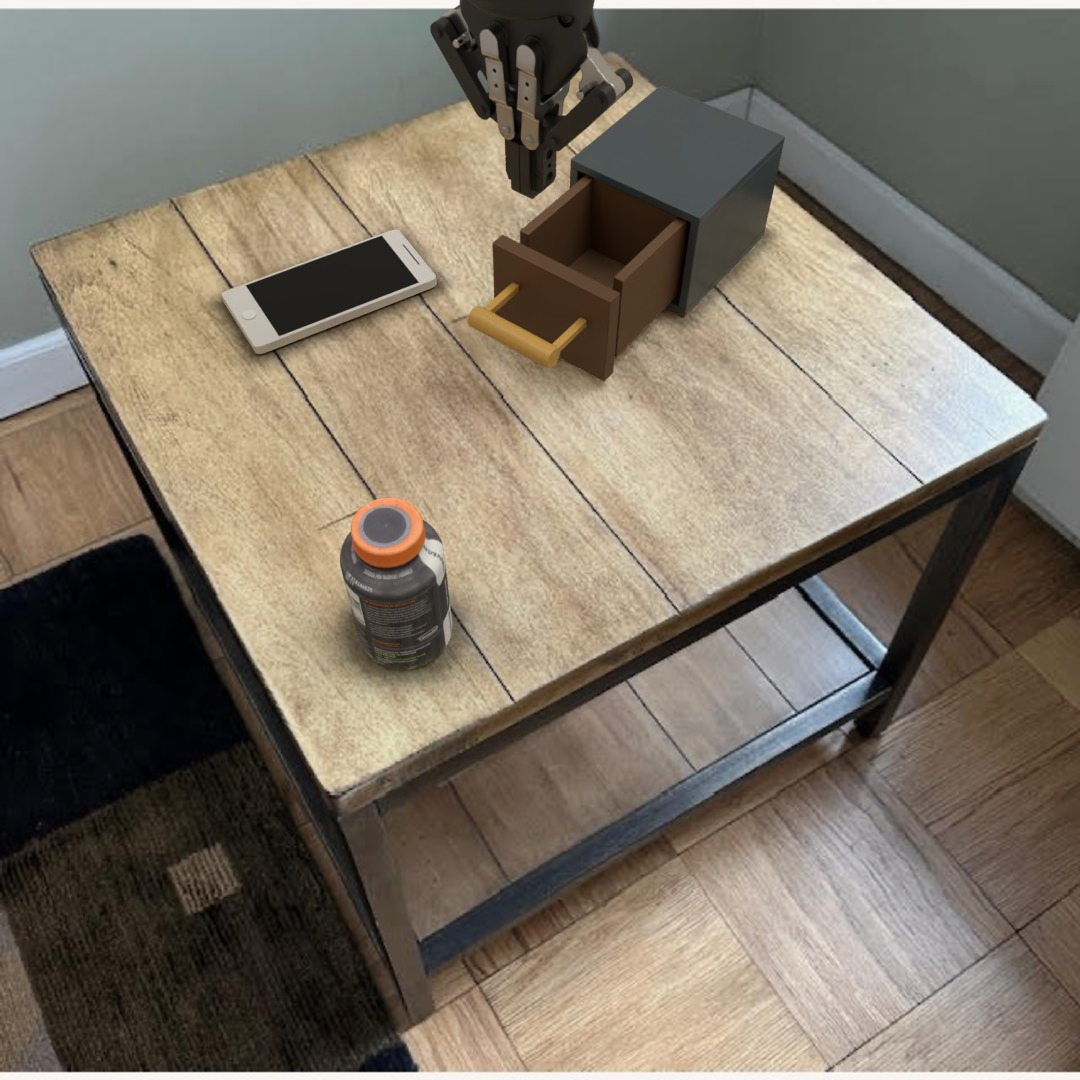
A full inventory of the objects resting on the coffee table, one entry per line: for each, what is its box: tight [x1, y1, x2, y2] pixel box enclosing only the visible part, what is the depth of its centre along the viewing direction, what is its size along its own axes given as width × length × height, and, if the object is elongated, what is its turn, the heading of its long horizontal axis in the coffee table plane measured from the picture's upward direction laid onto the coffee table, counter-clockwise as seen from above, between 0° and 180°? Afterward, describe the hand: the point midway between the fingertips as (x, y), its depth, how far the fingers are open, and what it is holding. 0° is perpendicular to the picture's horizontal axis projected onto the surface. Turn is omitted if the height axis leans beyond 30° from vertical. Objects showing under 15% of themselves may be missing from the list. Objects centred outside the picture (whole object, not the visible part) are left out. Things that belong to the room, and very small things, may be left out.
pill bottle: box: [339, 496, 453, 671], centre depth 64 cm, size 6×6×11 cm
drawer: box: [467, 174, 691, 383], centre depth 80 cm, size 16×10×8 cm, turn 143°
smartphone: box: [221, 229, 438, 355], centre depth 86 cm, size 7×16×1 cm, turn 121°
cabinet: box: [569, 84, 786, 318], centre depth 87 cm, size 12×11×9 cm
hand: (530, 187), depth 68 cm, fingers closed
